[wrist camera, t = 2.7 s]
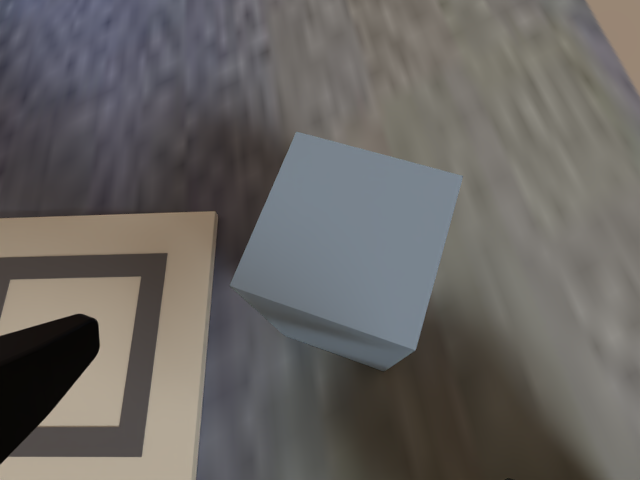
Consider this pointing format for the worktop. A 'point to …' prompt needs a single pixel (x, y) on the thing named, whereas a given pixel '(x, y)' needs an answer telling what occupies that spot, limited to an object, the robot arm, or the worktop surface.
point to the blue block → (348, 249)
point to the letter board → (116, 339)
